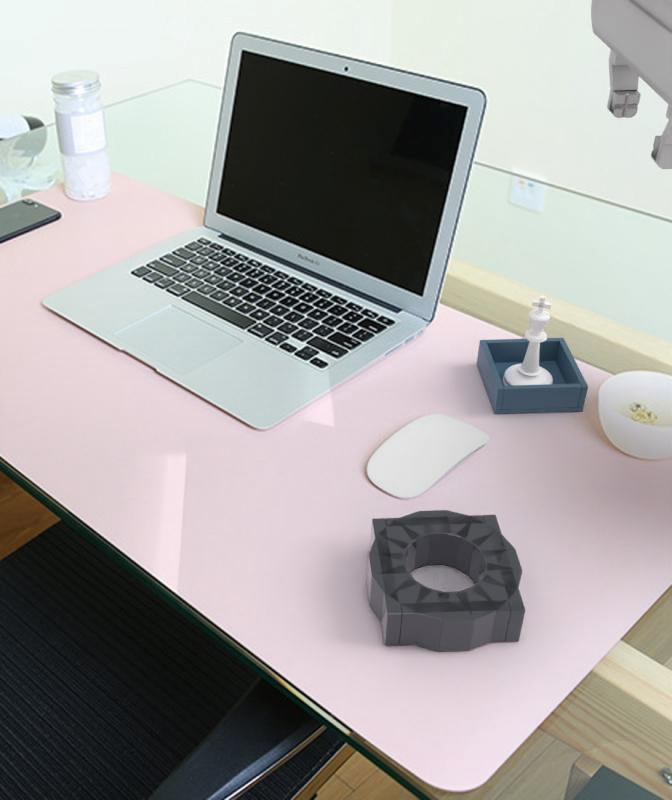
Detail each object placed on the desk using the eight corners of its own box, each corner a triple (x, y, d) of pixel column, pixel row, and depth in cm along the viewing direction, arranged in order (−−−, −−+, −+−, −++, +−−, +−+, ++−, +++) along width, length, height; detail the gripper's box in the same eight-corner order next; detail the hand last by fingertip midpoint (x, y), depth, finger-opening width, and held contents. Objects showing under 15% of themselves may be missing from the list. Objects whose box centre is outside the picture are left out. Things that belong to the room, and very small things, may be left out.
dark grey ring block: (497, 538, 79) (502, 507, 77) (530, 648, 70) (537, 617, 68) (360, 543, 79) (362, 512, 77) (376, 654, 70) (379, 622, 68)
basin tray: (558, 361, 100) (563, 337, 98) (582, 411, 93) (588, 386, 91) (476, 363, 100) (479, 339, 98) (494, 414, 93) (498, 389, 91)
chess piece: (549, 401, 94) (566, 314, 88) (498, 391, 95) (512, 305, 89) (555, 373, 97) (572, 288, 92) (506, 365, 99) (520, 280, 93)
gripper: (822, -40, 51) (749, 199, 59) (680, -105, 68) (638, 89, 76) (706, -37, 51) (649, 202, 59) (591, -103, 67) (559, 91, 76)
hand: (642, 138), depth 68 cm, fingers open, 8 cm apart
